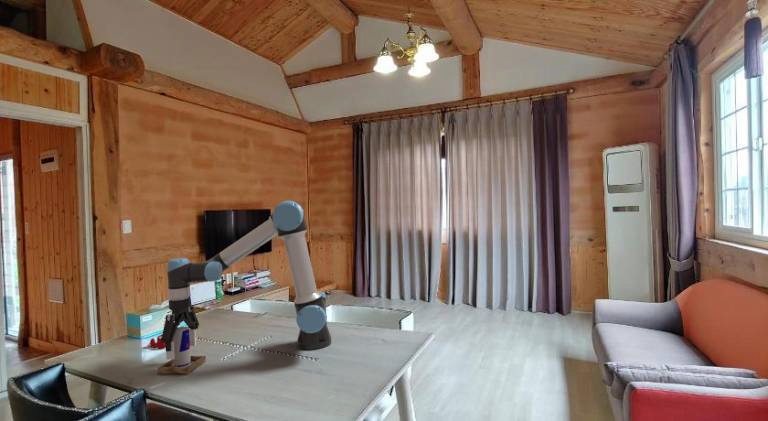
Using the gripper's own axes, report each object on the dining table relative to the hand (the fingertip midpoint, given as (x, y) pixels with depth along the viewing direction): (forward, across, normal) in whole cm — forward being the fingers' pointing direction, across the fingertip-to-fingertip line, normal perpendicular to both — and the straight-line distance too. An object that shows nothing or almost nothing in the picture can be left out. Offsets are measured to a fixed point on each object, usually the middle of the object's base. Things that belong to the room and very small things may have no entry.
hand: (182, 352), depth 149 cm
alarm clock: (+7, -24, -25) cm, 36 cm away
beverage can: (+6, 0, 0) cm, 6 cm away
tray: (+6, 0, 0) cm, 6 cm away
